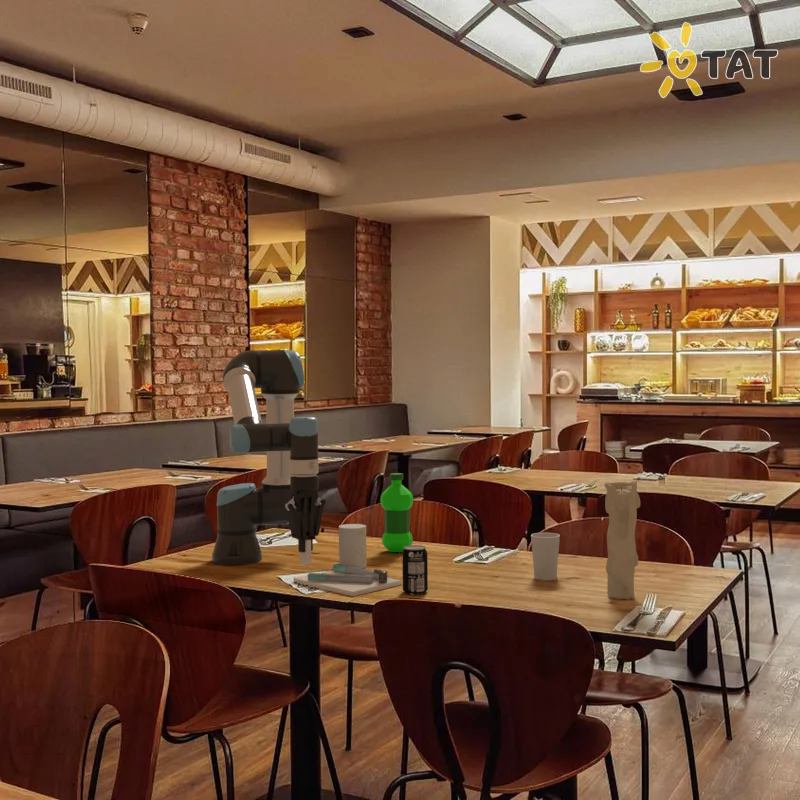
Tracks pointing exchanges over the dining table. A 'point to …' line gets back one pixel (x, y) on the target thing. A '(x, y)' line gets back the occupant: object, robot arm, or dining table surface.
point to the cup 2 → (545, 555)
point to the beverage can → (415, 570)
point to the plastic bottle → (396, 515)
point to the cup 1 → (352, 545)
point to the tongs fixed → (362, 572)
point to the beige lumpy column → (621, 538)
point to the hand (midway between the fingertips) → (305, 563)
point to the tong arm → (340, 577)
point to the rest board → (347, 585)
